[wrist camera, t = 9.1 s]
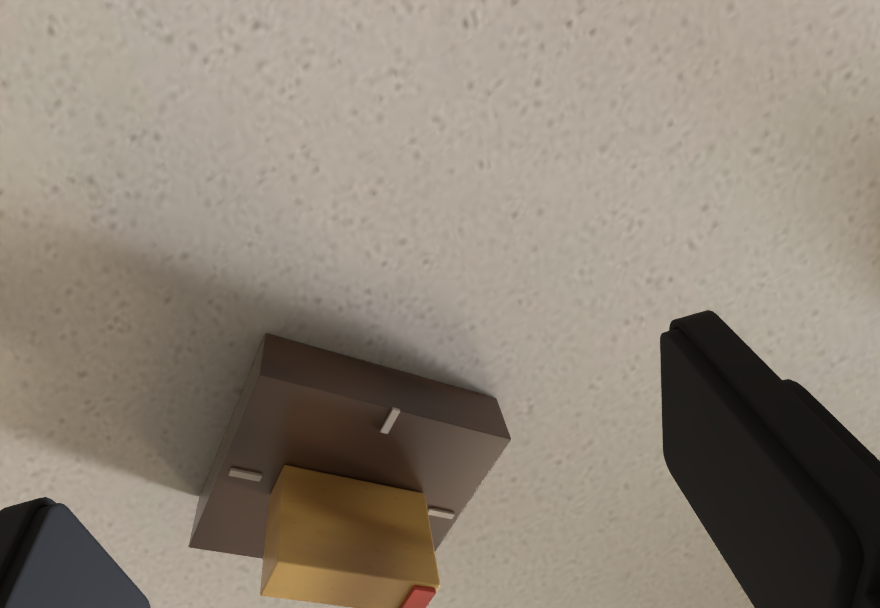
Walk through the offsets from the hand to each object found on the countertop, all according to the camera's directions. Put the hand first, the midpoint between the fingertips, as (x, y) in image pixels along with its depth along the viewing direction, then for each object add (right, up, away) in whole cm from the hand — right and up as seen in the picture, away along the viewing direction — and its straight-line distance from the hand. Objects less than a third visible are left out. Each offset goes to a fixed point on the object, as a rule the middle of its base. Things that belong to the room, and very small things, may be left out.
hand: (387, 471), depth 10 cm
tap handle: (-3, -6, +20) cm, 21 cm away
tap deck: (-4, -5, +22) cm, 23 cm away
